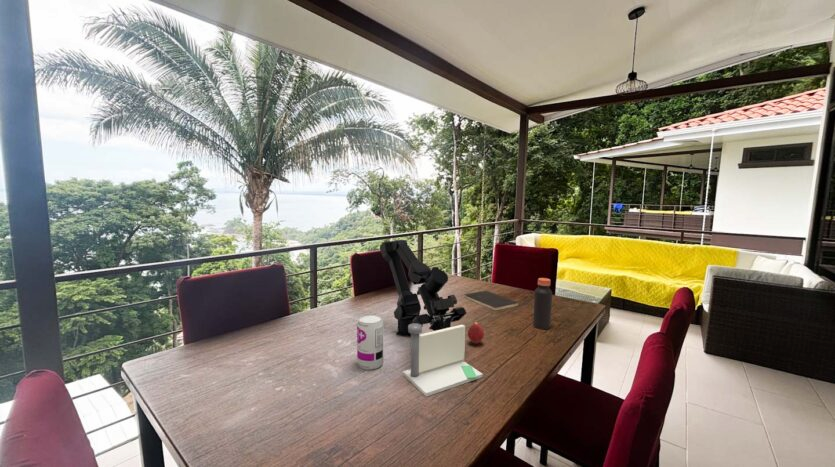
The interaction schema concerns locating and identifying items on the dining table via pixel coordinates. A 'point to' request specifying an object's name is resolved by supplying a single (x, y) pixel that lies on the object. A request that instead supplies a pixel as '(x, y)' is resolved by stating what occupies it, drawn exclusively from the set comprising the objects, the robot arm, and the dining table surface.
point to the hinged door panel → (435, 347)
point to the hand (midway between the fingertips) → (449, 342)
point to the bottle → (542, 304)
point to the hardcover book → (491, 300)
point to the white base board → (443, 377)
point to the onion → (475, 333)
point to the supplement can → (370, 342)
